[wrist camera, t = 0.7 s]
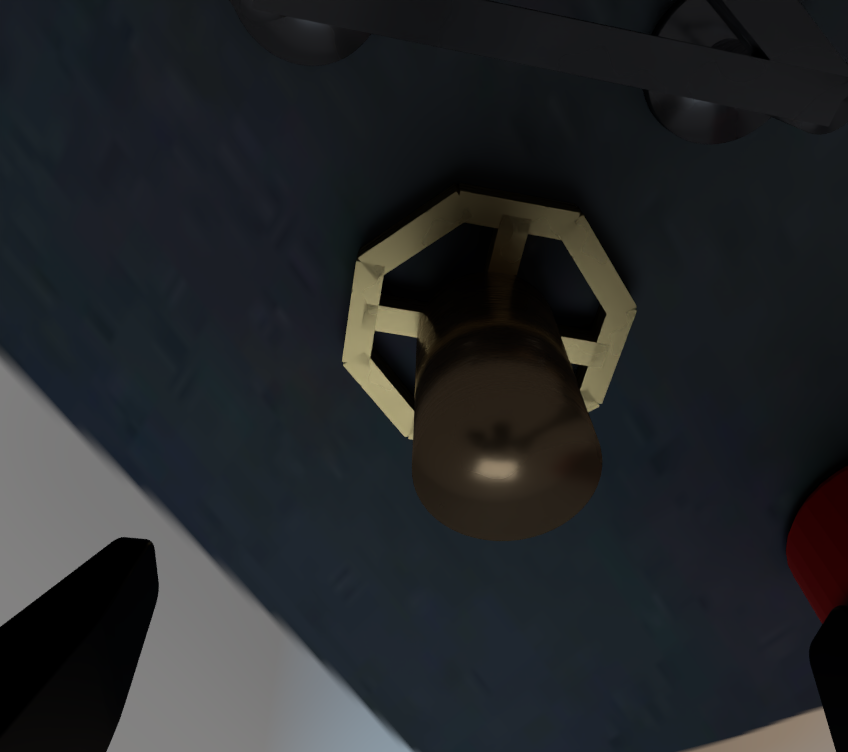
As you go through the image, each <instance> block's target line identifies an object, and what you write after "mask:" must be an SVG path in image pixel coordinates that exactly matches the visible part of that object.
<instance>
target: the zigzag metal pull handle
mask: <svg viewBox="0 0 848 752" xmlns="http://www.w3.org/2000/svg"><path fill="white" fill-rule="evenodd" d="M229 1H230V2H231V4H232V5H233V6H234V8H235V10H236V12H237V14H238V16H239V18H240V20H241V22H242V23H243V25H244V26H245V28H246V29H247V31H248V32H249V33H250V34H251V35H252V37H253V38H254V39H255V40H256V41H257V42H258V43H259V44H260V45H261V46H263V47H264V48H265V49H266V50H268V51H269V52H270V53H272V54H274V55H276V56H277V57H279V58H281V59H284V60H286V61H288V62H292V63H295V64H299V65H307V66H319V65H326V64H330V63H333V62H336V61H339V60H341V59H343V58H345V57H347V56H348V55H350V54H351V53H353V52H354V51H355V50H357V49H358V48H359V47H360V46H361V45H362V44H363V43H364V42H365V41H366V40H367V38H368V37H369V36H370V35H371V34H376V35H381V36H386V37H391V38H396V39H401V40H406V41H411V42H416V43H420V44H425V45H430V46H435V47H440V48H445V49H450V50H455V51H460V52H465V53H470V54H474V55H479V56H484V57H489V58H494V59H499V60H504V61H509V62H514V63H519V64H524V65H528V66H533V67H538V68H543V69H548V70H553V71H558V72H563V73H568V74H573V75H578V76H582V77H587V78H592V79H597V80H602V81H607V82H612V83H617V84H622V85H627V86H632V87H637V88H641V89H643V92H644V96H645V100H646V102H647V105H648V107H649V109H650V111H651V112H652V114H653V116H654V117H655V118H656V119H657V120H658V122H659V123H660V124H662V125H663V126H664V127H665V128H666V129H668V130H669V131H671V132H672V133H674V134H676V135H677V136H679V137H680V138H683V139H685V140H687V141H690V142H694V143H699V144H720V143H726V142H729V141H733V140H736V139H738V138H741V137H743V136H745V135H747V134H749V133H751V132H753V131H754V130H756V129H757V128H758V127H760V126H761V125H763V124H764V123H765V122H766V121H767V120H768V119H770V118H771V117H773V118H775V119H777V120H780V121H782V122H784V123H787V124H789V125H792V126H794V127H796V128H799V129H801V130H803V131H806V132H808V133H812V134H826V133H830V132H832V131H835V130H837V129H839V128H840V127H842V126H843V125H844V124H846V123H847V122H848V63H846V62H844V60H843V59H842V58H841V56H840V55H839V54H838V52H837V51H836V50H835V48H834V47H833V46H832V44H831V43H830V42H829V40H828V39H827V38H826V36H825V35H824V34H823V32H822V31H821V30H820V29H819V27H818V26H817V25H816V23H815V22H814V21H813V19H812V18H811V17H810V15H809V14H808V13H807V11H806V10H805V9H804V7H803V6H802V5H801V3H800V2H799V1H798V0H678V1H677V2H676V3H675V4H674V5H673V6H672V7H671V8H670V9H669V10H668V11H667V12H666V14H665V15H664V16H663V17H662V18H661V20H660V22H659V23H658V25H657V26H656V28H655V29H654V31H653V33H652V35H651V34H646V33H641V32H636V31H632V30H627V29H622V28H617V27H613V26H608V25H603V24H598V23H594V22H589V21H584V20H579V19H575V18H570V17H565V16H560V15H556V14H551V13H546V12H541V11H537V10H532V9H527V8H523V7H518V6H513V5H508V4H504V3H499V2H494V1H489V0H229Z"/></svg>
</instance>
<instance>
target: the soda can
mask: <svg viewBox="0 0 848 752" xmlns="http://www.w3.org/2000/svg"><path fill="white" fill-rule="evenodd" d="M786 555H787V561H788V566H789V568H790V570H791V572H792V574H793V576H794V578H795V579H796V581H797V583H798V584H799V586H800V588H801V589H802V591H803V593H804V594H805V596H806V598H807V599H808V601H809V603H810V604H811V606H812V608H813V609H814V611H815V613H816V614H817V616H818V618H819V619H820V621H821V623H822V624H823V623H824V621H825V619H826V618H827V616H828V615H829V613H830V612H831V610H832V609H833V608H835V607H837V606H840V605H844V606H848V465H847V466H846V467H844V468H842V469H840V470H839V471H837V472H836V473H834V474H833V475H832V476H830V477H829V478H828V479H826V480H825V481H824V482H823V483H821V484H820V485H819V486H818V487H817V488H816V489H815V490H814V491H813V492H812V493H811V494H810V496H809V497H808V498H807V499H806V500H805V502H804V503H803V505H802V506H801V508H800V509H799V511H798V512H797V515H796V517H795V519H794V522H793V524H792V527H791V529H790V532H789V534H788V539H787V546H786Z"/></svg>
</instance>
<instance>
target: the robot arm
mask: <svg viewBox="0 0 848 752" xmlns="http://www.w3.org/2000/svg"><path fill="white" fill-rule="evenodd" d="M158 589H159V582H158V574H157V565H156V557H155V549H154V545H153V543H152V542H151V541H150V540H147V539H138V538H127V537H121V538H118V539H116V540H114V541H113V542H111V543H110V544H109V545H107V546H106V547H105V548H103V549H102V550H101V551H99V552H98V553H97V554H96V555H94V556H93V557H92V558H90V559H89V560H88V561H86V562H85V563H84V564H82V565H81V566H80V567H78V568H77V569H76V570H74V572H72V573H71V574H69V575H68V576H67V577H65V578H64V579H63V580H61V581H60V582H59V583H57V584H56V585H55V586H53V587H52V588H51V589H49V590H48V591H47V592H46V593H44V594H43V595H42V596H41V597H39V598H38V599H36V600H35V601H34V602H32V603H31V604H30V605H28V606H27V607H26V608H25V609H23V610H22V611H21V612H19V613H18V614H17V615H15V616H14V617H13V618H11V619H10V620H9V621H7V622H6V623H5V624H4V625H2V626H1V627H0V752H106V751H107V749H108V747H109V744H110V742H111V740H112V737H113V735H114V732H115V730H116V727H117V725H118V722H119V720H120V717H121V714H122V711H123V708H124V705H125V702H126V699H127V695H128V692H129V689H130V686H131V683H132V680H133V676H134V673H135V670H136V667H137V663H138V660H139V657H140V654H141V650H142V647H143V644H144V641H145V638H146V634H147V631H148V628H149V625H150V622H151V618H152V615H153V612H154V609H155V605H156V602H157V597H158V591H159V590H158ZM809 659H810V665H811V668H812V671H813V675H814V678H815V682H816V685H817V688H818V692H819V695H820V699H821V702H822V705H823V709H824V712H825V715H826V719H827V722H828V726H829V729H830V733H831V736H832V739H833V742H834V746H835V749H836V752H848V606H844V605H840V606H837V607H835V608H833V609H832V610H831V612H830V613H829V615H828V616H827V618H826V619H825V621H824V623H823V624H822V626H821V628H820V629H819V631H818V632H817V634H816V636H815V637H814V639H813V641H812V643H811V645H810V649H809Z"/></svg>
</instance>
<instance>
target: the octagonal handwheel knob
mask: <svg viewBox="0 0 848 752" xmlns="http://www.w3.org/2000/svg"><path fill="white" fill-rule="evenodd" d="M464 222H465V223H471V224H476V225H482V226H487V227H493V228H494V230H493V234H492V238H491V242H490V246H489V250H488V254H487V259H486V263H485V267H484V271H483V272H479V273H473V274H469V275H465V276H462V277H460V278H457V279H455V280H453V281H452V282H450V283H448V284H446V285H445V286H444V287H442V288H441V289H440V290H439V291H438V292H437V293H435V294H434V295H433V297H432V298H431V299H430V300H429V302H424V301H418V300H412V299H406V298H400V297H394V296H389V295H383V294H381V289H382V282H383V276H384V275H385V274H386V273H388V272H389V271H391V270H392V269H394V268H395V267H397V266H398V265H400V264H401V263H403V262H404V261H406V260H408V259H409V258H411V257H412V256H414V255H415V254H417V253H418V252H420V251H421V250H423V249H424V248H426V247H427V246H429V245H430V244H432V243H433V242H435V241H436V240H438V239H439V238H441V237H442V236H444V235H446V234H447V233H449V232H450V231H452V230H453V229H455V228H456V227H458V226H459V225H461V224H462V223H464ZM528 234H531V235H537V236H542V237H548V238H553V239H559V240H562V241H563V243H564V245H565V246H566V248H567V250H568V251H569V253H570V255H571V256H572V258H573V259H574V261H575V263H576V264H577V266H578V268H579V269H580V271H581V273H582V274H583V276H584V277H585V279H586V281H587V282H588V284H589V286H590V287H591V289H592V291H593V292H594V294H595V295H596V297H597V299H598V300H599V302H600V306H599V309H598V312H597V314H596V317H595V320H594V323H593V326H592V329H591V330H587V329H581V328H575V327H570V326H564V325H558V324H556V321H555V319H554V316H553V313H552V311H551V308H550V306H549V304H548V302H547V301H546V299H545V298H544V297H543V295H542V294H541V293H540V292H539V291H538V290H537V289H536V288H535V287H533V286H532V285H531V284H529V283H528V282H526V281H524V280H522V279H520V278H518V277H516V276H517V272H518V268H519V265H520V261H521V257H522V254H523V250H524V246H525V242H526V239H527V235H528ZM636 307H637V306H636V304H635V303H634V301H633V299H632V298H631V296H630V294H629V292H628V291H627V289H626V287H625V286H624V284H623V282H622V280H621V279H620V277H619V275H618V273H617V272H616V270H615V268H614V267H613V265H612V263H611V261H610V260H609V258H608V256H607V255H606V253H605V251H604V249H603V248H602V246H601V244H600V243H599V241H598V239H597V237H596V236H595V234H594V232H593V231H592V229H591V227H590V225H589V224H588V222H587V220H586V219H585V217H584V215H583V214H582V212H581V210H580V209H579V207H578V206H577V207H576V206H575V204H571V203H566V202H561V201H555V200H550V199H545V198H539V197H534V196H529V195H523V194H518V193H513V192H507V191H502V190H497V189H491V188H486V187H481V186H475V185H470V184H464V183H459V187H458V186H457V185H456V183H455V184H453V185H452V186H451V187H449V188H448V189H446V190H445V191H443V192H442V193H440V194H439V195H437V196H436V197H434V198H433V199H431V200H430V201H428V202H427V203H426V204H424V205H423V206H421V207H420V208H418V209H417V210H415V211H414V212H412V213H411V214H409V215H408V216H406V217H405V218H403V219H402V220H401V221H399V222H398V223H396V224H395V225H393V226H392V227H390V228H389V229H387V230H386V231H384V232H383V233H381V234H380V235H379V236H377V237H376V238H374V239H373V240H371V241H370V242H368V243H367V244H365V245H364V246H362V247H361V248H360V251H359V252H358V256H357V260H356V266H355V273H354V280H353V287H352V294H351V302H350V309H349V316H348V323H347V330H346V337H345V344H344V352H343V359H342V362H343V366H344V367H345V368H346V369H347V370H348V371H349V373H350V374H351V375H352V376H353V377H354V378H355V380H356V381H357V382H358V383H359V384H360V385H361V386H362V388H363V389H364V390H365V391H366V392H367V393H368V395H369V396H370V397H371V398H372V399H373V400H374V402H375V403H376V404H377V405H378V406H379V407H380V409H381V410H382V411H383V412H384V413H385V414H386V416H387V417H388V418H389V419H390V420H391V421H392V423H393V424H394V425H395V426H396V427H397V428H398V430H399V431H400V432H401V433H402V434H403V435H404V436H405V437H407V436H408V439H413V455H412V477H413V482H414V487H415V490H416V492H417V495H418V497H419V499H420V500H421V502H422V504H423V505H424V506H425V508H426V509H427V510H428V512H430V513H431V514H432V515H433V516H434V517H435V518H436V519H437V520H438V521H440V522H441V523H442V524H444V525H445V526H447V527H449V528H451V529H452V530H454V531H457V532H459V533H461V534H464V535H467V536H470V537H474V538H478V539H484V540H492V541H512V540H521V539H526V538H531V537H534V536H537V535H541V534H544V533H546V532H548V531H551V530H553V529H555V528H557V527H559V526H561V525H562V524H564V523H565V522H567V521H568V520H570V519H571V518H572V517H574V516H575V515H576V514H577V513H578V512H579V511H580V510H581V509H582V508H583V507H584V506H585V505H586V504H587V502H588V501H589V500H590V498H591V497H592V495H593V493H594V491H595V489H596V487H597V485H598V482H599V479H600V476H601V470H602V453H601V448H600V444H599V441H598V438H597V436H596V433H595V430H594V427H593V425H592V422H591V419H590V416H589V413H588V412H590V411H592V410H594V409H595V408H597V407H599V403H600V404H602V402H603V399H604V396H605V394H606V391H607V389H608V386H609V383H610V381H611V378H612V375H613V373H614V370H615V367H616V365H617V362H618V359H619V357H620V354H621V351H622V349H623V346H624V343H625V341H626V338H627V335H628V333H629V330H630V327H631V325H632V322H633V319H634V317H635V314H636V311H637V310H636ZM374 331H381V332H387V333H393V334H399V335H405V336H411V337H417V347H416V374H415V397H414V396H413V395H412V394H411V392H410V391H409V390H408V389H407V387H406V386H405V385H404V384H403V383H402V381H401V380H400V379H399V378H398V377H397V375H396V374H395V373H394V372H393V370H392V369H391V368H390V367H389V366H388V364H387V363H386V362H385V361H384V360H383V358H382V357H381V356H380V355H379V353H378V352H377V351H376V350H375V349H374V347H373V346H372V344H373V337H374ZM571 363H573V364H579V367H578V370H577V373H576V375H575V374H574V372H573V369H572V366H571Z"/></svg>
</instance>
